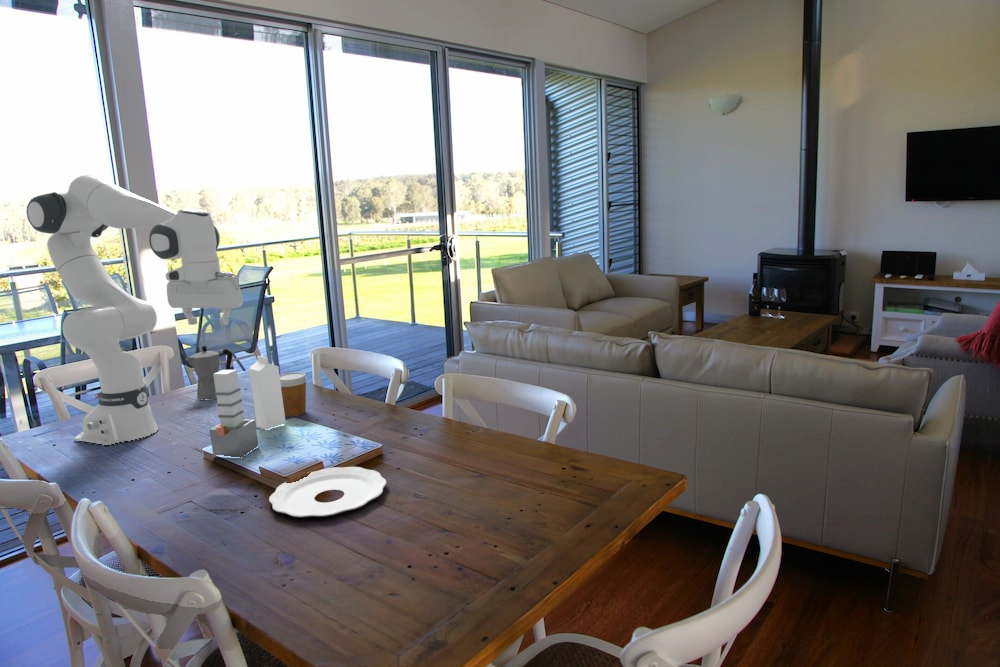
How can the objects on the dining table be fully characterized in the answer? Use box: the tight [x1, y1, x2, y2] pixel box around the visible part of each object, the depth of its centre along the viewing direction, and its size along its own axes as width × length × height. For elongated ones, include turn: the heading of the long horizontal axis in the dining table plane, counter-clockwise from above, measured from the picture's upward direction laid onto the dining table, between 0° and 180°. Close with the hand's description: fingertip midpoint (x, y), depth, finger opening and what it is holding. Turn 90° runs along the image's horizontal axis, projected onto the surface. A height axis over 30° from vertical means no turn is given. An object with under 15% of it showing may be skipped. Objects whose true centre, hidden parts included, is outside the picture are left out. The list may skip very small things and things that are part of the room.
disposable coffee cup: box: [279, 372, 308, 417], centre depth 211 cm, size 10×10×12 cm
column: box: [213, 369, 245, 429], centre depth 176 cm, size 4×4×16 cm
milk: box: [248, 355, 287, 430], centre depth 196 cm, size 6×6×22 cm
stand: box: [208, 418, 260, 459], centre depth 178 cm, size 14×14×10 cm
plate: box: [268, 466, 387, 519], centre depth 152 cm, size 25×25×2 cm
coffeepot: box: [184, 345, 234, 401], centre depth 235 cm, size 15×9×18 cm, turn 125°
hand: (208, 324), depth 180 cm, fingers open, 8 cm apart
